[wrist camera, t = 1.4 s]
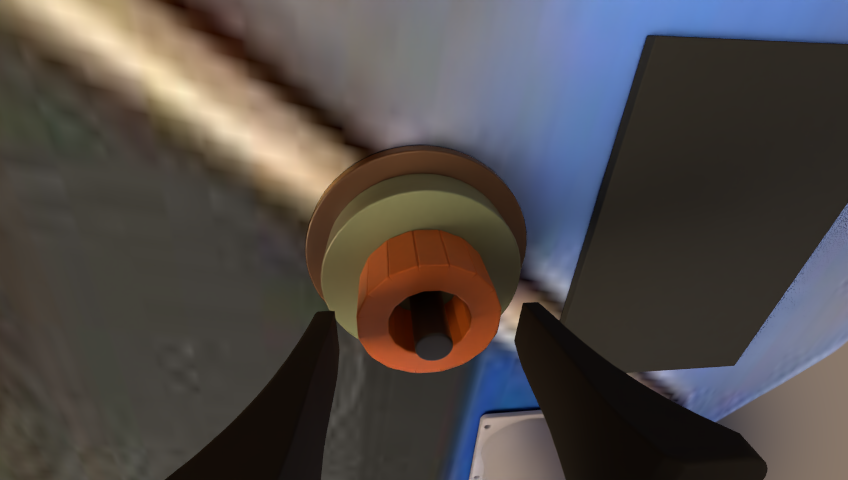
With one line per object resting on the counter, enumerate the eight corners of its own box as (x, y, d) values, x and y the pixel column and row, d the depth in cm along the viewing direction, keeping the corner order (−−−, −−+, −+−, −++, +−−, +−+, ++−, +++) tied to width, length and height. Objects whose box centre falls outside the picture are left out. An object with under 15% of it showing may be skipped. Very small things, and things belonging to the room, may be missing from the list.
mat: (727, 359, 26) (734, 366, 25) (543, 371, 24) (547, 378, 24) (936, 48, 16) (955, 49, 15) (646, 35, 14) (656, 35, 14)
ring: (477, 326, 18) (490, 369, 15) (363, 332, 17) (360, 377, 15) (492, 227, 15) (511, 262, 13) (356, 230, 14) (352, 266, 12)
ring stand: (504, 324, 22) (548, 427, 16) (320, 333, 21) (297, 448, 15) (541, 145, 16) (627, 207, 11) (292, 143, 15) (238, 211, 9)
